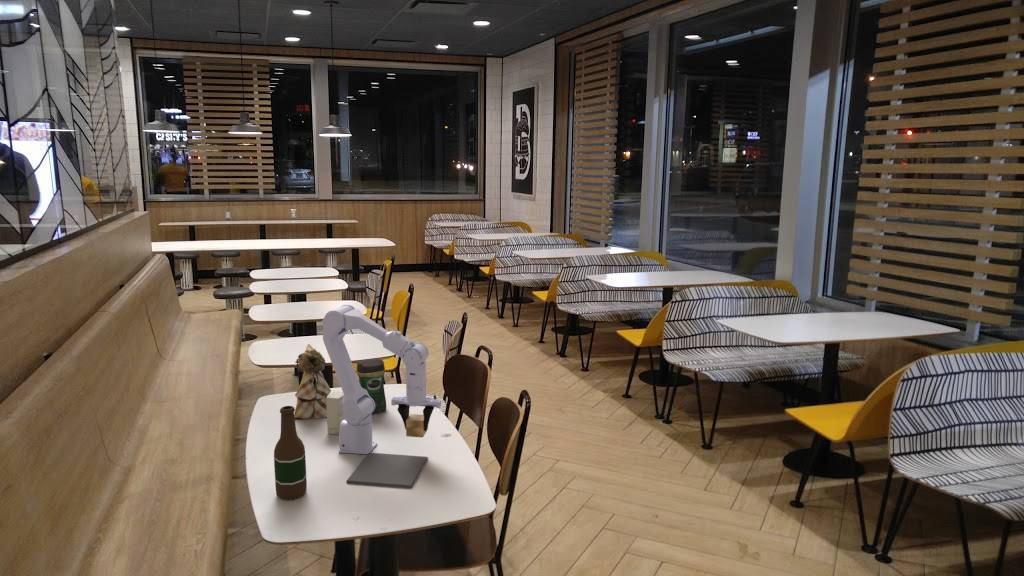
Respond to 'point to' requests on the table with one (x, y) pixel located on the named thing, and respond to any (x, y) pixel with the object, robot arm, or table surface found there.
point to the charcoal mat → (388, 470)
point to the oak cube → (415, 426)
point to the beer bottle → (289, 459)
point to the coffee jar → (373, 381)
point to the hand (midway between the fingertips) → (416, 429)
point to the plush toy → (311, 386)
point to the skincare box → (334, 412)
